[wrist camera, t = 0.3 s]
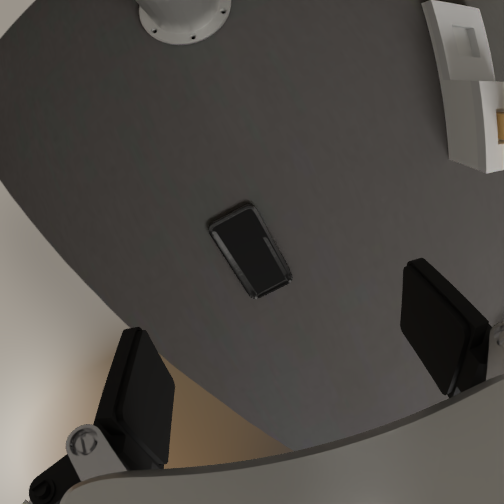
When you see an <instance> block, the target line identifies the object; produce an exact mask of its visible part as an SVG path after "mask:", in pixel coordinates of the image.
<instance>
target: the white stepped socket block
mask: <svg viewBox="0 0 504 504" xmlns="http://www.w3.org/2000/svg"><path fill="white" fill-rule="evenodd" d="M421 5H422V8H423V12H424V15H425V18H426V22H427V26H428V29H429V33H430V37H431V41H432V46H433V50H434V54H435V59H436V64H437V69H438V74H439V80H440V85H441V91H442V98H443V105H444V112H445V121H446V130H447V141H448V154H449V160H452V161H455V162H458V163H460V164H463V165H466V166H468V167H471V168H474V169H476V170H479V171H481V172H484V173H491V172H496V171H500V170H504V140H502V139H499V138H498V130H497V117H496V112H504V82H498V81H495V76H494V70H493V64H492V59H491V54H490V49H489V44H488V40H487V36H486V32H485V28H484V24H483V20H482V17H481V13H480V10H479V9H478V8H473V7H469V6H464V5H459V4H454V3H448V2H442V1H436V0H429V1H426V2H423V3H421Z"/></svg>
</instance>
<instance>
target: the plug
mask: <svg viewBox="0 0 504 504" xmlns="http://www.w3.org/2000/svg"><path fill="white" fill-rule="evenodd" d="M496 117H497V130H498V138H499V139H502V140H504V112H496Z"/></svg>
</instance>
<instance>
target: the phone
mask: <svg viewBox="0 0 504 504" xmlns="http://www.w3.org/2000/svg"><path fill="white" fill-rule="evenodd" d="M209 233H210V235H211V237H212V238H213V240H214V241H215V243H216V245H217V246H218V248H219V249H220V251H221V252H222V254H223V256H224V257H225V259H226V260H227V262H228V263H229V265H230V267H231V268H232V270H233V271H234V273H235V274H236V276H237V277H238V279H239V281H240V282H241V284H242V285H243V287H244V288H245V290H246V291H247V293H248V294H249V296H250V297H251V298H253V299H258V298H260V297H262V296H264V295H267V294H269V293H271V292H273V291H275V290H277V289H279V288H281V287H283V286H285V285H287V284H289V283H290V282H291V281H292V278H293V277H292V274H291V272H290V269H289V267H288V266H287V263H286V261H285V260H284V257H283V256H282V254H281V253H280V251H279V250H278V248H277V246H276V244H275V242H274V240H273V239H272V237H271V235H270V233H269V231H268V229H267V227H266V226H265V224H264V222H263V220H262V218H261V217H260V215H259V213H258V211H257V209H256V208H255V206H253V205H251V204H247V205H244V206H243V207H241V208H239V209H237V210H235V211H233V212H231V213H229V214H227V215H226V216H224V217H222V218H220V219H218V220H216V221H214V222H213V223H211V224H210V226H209Z"/></svg>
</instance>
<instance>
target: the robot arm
mask: <svg viewBox="0 0 504 504" xmlns="http://www.w3.org/2000/svg"><path fill="white" fill-rule="evenodd" d="M135 1H136V2H137V3H138V4H139V17H140V21H141V23H142V26H143V27H144V29H145V30H146V31H147V32H148V33H149V34H150V35H151V36H152V37H154V38H155V39H157V40H159V41H161V42H163V43H167V44H171V45H189V44H193V43H197V42H200V41H202V40H204V39H206V38H208V37H210V36H211V35H213V34H214V33H215V32H217V31H218V30H219V29H220V28H221V27H222V25H223V24H224V23H225V21H226V19H227V18H228V16H229V12H230V9H231V0H135ZM222 12H225V14H222ZM154 31H157V32H156V33H154ZM192 37H195V39H192ZM488 323H489V321H488V320H487V319H486V318H485V317H484V316H483V315H482V314H481V313H480V312H479V311H478V310H477V309H476V308H475V307H474V306H473V305H472V304H471V303H470V302H469V301H468V300H467V299H466V298H465V297H464V296H463V295H462V294H461V293H460V292H459V291H458V290H457V289H456V288H455V287H454V286H453V285H452V284H451V283H450V282H449V281H448V280H447V279H446V278H444V277H443V276H442V275H441V274H440V273H439V272H438V271H437V270H436V269H435V268H434V267H433V266H432V265H430V264H429V263H428V262H427V261H426V260H425V259H424V258H419V259H416V260H412V261H409V262H408V263H407V266H406V267H404V270H403V291H402V308H401V321H400V326H401V330H402V332H403V334H404V335H405V337H406V338H407V340H408V341H409V343H410V344H411V346H412V347H413V349H414V350H415V352H416V353H417V355H418V356H419V358H420V359H421V361H422V362H423V364H424V366H425V367H426V369H427V370H428V372H429V373H430V375H431V376H432V378H433V380H434V381H435V383H436V384H437V386H438V387H439V389H440V391H441V392H442V394H444V395H446V394H447V395H448V397H449V399H447V400H444V401H442V402H440V403H438V404H435V405H433V406H431V407H429V408H426V409H424V410H422V411H419V412H417V413H415V414H412V415H410V416H407V417H405V418H402V419H400V420H397V421H394V422H392V423H389V424H386V425H383V426H381V427H378V428H375V429H372V430H369V431H366V432H363V433H360V434H357V435H354V436H350V437H347V438H344V439H340V440H337V441H333V442H330V443H326V444H322V445H319V446H315V447H311V448H307V449H302V450H298V451H294V452H289V453H284V454H280V455H275V456H269V457H264V458H259V459H253V460H246V461H241V462H233V463H226V464H217V465H208V466H197V467H186V468H173V469H164V464H167V462H168V455H169V443H170V431H171V421H172V411H173V401H174V390H175V384H174V381H173V378H172V377H171V375H170V373H169V372H168V370H167V368H166V366H165V364H164V363H163V361H162V359H161V357H160V355H159V354H158V352H157V350H156V348H155V346H154V344H153V342H152V341H151V339H150V337H149V335H148V333H147V331H146V330H142V329H141V328H140V327H135V328H130V329H125V330H124V331H123V333H122V336H121V338H120V341H119V344H118V347H117V350H116V353H115V356H114V359H113V362H112V365H111V368H110V371H109V374H108V377H107V380H106V383H105V387H104V390H103V393H102V397H101V400H100V403H99V407H98V410H97V413H96V417H95V421H94V424H93V425H90V424H86V425H81V426H79V427H77V428H76V429H75V430H73V431H72V432H71V434H70V435H69V437H68V439H67V441H66V451H67V455H65V456H64V457H63V458H62V459H60V460H59V461H58V462H56V463H55V464H54V465H53V466H51V467H50V468H48V469H47V470H46V471H44V472H43V473H41V474H40V475H39V476H37V477H36V478H35V479H34V480H33V482H32V483H31V485H30V489H29V497H30V501H29V502H28V501H27V500H25V501H24V502H23V504H504V322H500V323H497V324H496V325H494V326H493V327H491V326H490V325H489V324H488Z"/></svg>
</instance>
